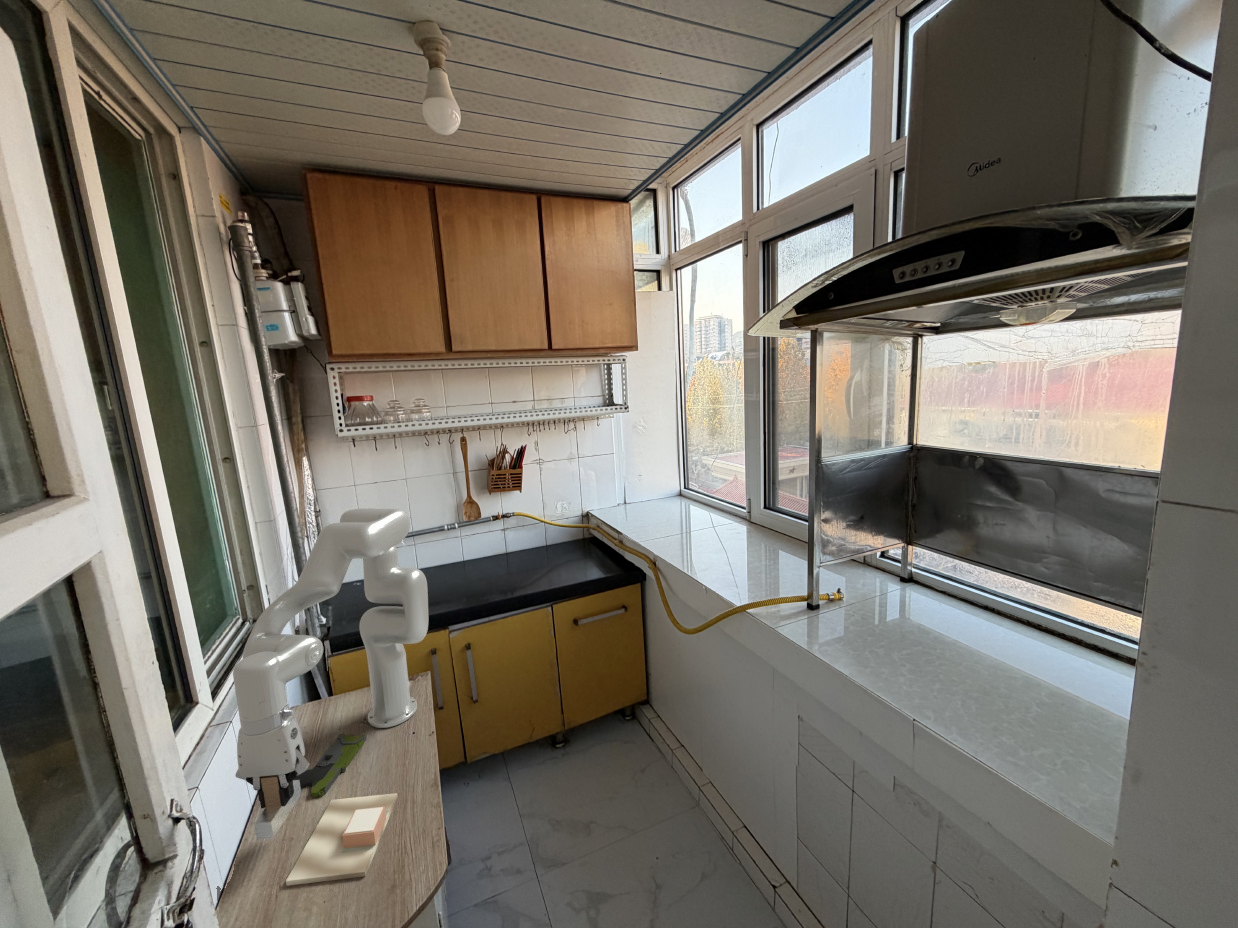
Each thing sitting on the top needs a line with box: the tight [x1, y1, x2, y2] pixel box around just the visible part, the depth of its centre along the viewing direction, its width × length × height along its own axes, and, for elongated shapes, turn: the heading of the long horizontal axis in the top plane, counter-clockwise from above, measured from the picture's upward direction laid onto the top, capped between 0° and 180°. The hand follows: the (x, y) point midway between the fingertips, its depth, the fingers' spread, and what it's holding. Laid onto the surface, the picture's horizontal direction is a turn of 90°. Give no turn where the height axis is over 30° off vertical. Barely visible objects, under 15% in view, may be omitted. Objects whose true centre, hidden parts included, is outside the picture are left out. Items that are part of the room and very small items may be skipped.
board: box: [285, 792, 399, 887], centre depth 100 cm, size 18×14×1 cm
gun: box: [293, 733, 367, 798], centre depth 119 cm, size 2×19×15 cm
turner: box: [253, 775, 302, 840], centre depth 97 cm, size 10×3×10 cm, turn 6°
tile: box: [342, 806, 387, 849], centre depth 100 cm, size 6×6×3 cm
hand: (277, 800), depth 97 cm, fingers closed on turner, 3 cm apart
